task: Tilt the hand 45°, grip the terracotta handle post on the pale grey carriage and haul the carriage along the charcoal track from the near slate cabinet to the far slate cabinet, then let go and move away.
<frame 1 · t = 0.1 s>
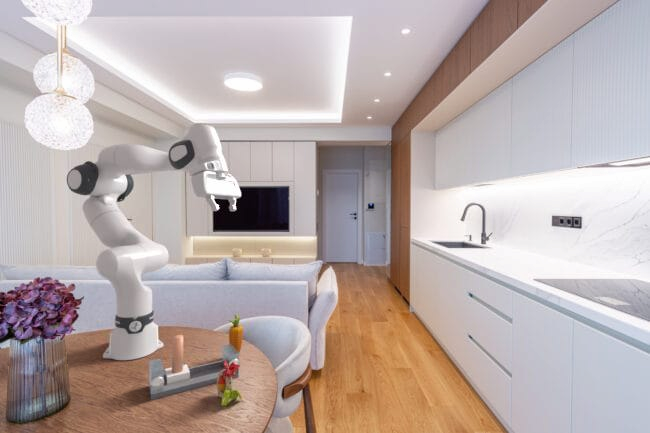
hand: (225, 210, 103), 52 cm above the table, tool tilted 20°, fingers open, 8 cm apart
rail track: (195, 381, 96), on the table
carrot: (235, 358, 111), on the table
decorative toy figure: (225, 401, 87), on the table
carriage: (177, 358, 93), point 8 cm above the table, slide at 0.0 cm
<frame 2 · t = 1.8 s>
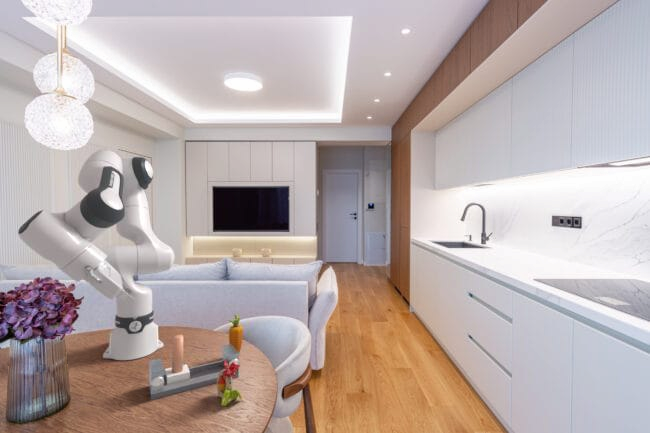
hand: (131, 297, 86), 28 cm above the table, tool tilted 45°, fingers open, 8 cm apart
nothing on the table moved.
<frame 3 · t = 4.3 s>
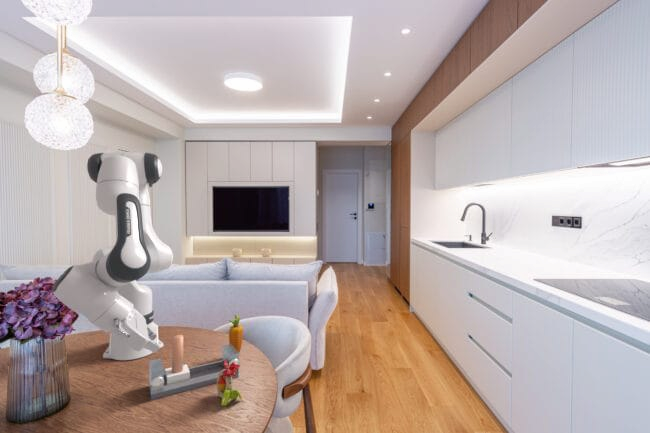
hand: (156, 343, 90), 14 cm above the table, tool tilted 45°, fingers open, 8 cm apart
nothing on the table moved.
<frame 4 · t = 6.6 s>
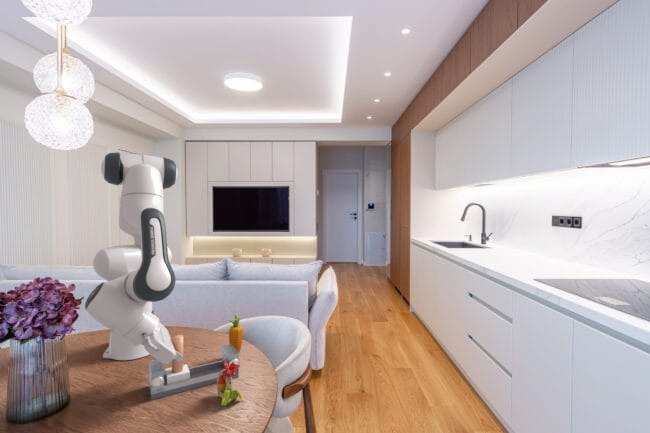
hand: (179, 355, 93), 9 cm above the table, tool tilted 45°, fingers closed on carriage, 3 cm apart
carriage: (177, 358, 93), point 8 cm above the table, slide at 0.0 cm, touching gripper
everything else where it was.
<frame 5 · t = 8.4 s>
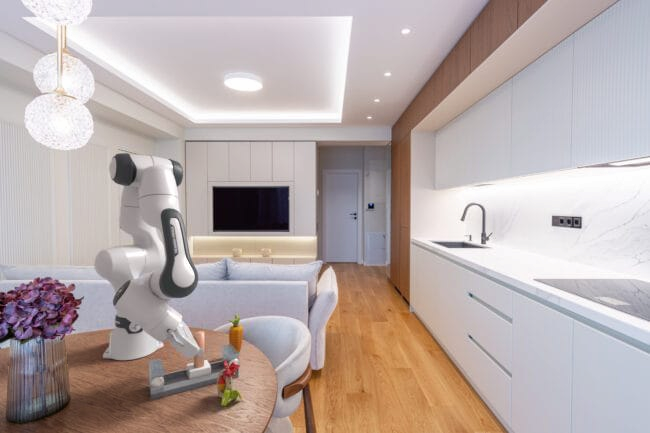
hand: (201, 351, 96), 9 cm above the table, tool tilted 45°, fingers closed on carriage, 3 cm apart
carriage: (198, 353, 96), point 8 cm above the table, slide at 6.0 cm, touching gripper
everything else where it was.
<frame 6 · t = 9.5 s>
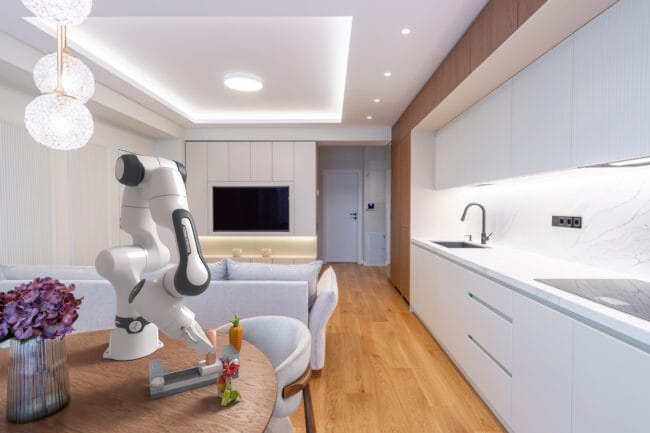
hand: (213, 348, 98), 9 cm above the table, tool tilted 45°, fingers closed on carriage, 3 cm apart
carriage: (210, 351, 98), point 8 cm above the table, slide at 9.5 cm, touching gripper
everything else where it was.
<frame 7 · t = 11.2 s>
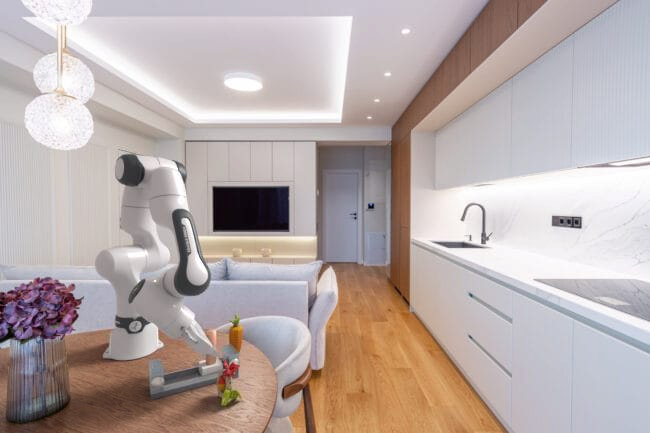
hand: (213, 348, 98), 9 cm above the table, tool tilted 45°, fingers open, 8 cm apart
carriage: (211, 351, 98), point 8 cm above the table, slide at 9.5 cm
everything else where it was.
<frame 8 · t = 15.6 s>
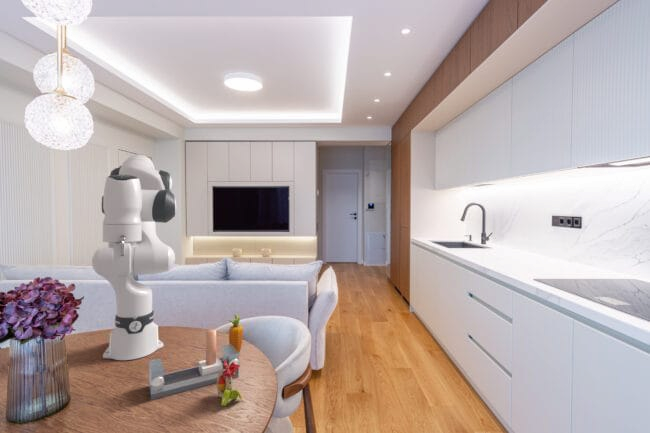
hand: (122, 285, 85), 31 cm above the table, tool pointing down, fingers open, 8 cm apart
nothing on the table moved.
at the end: carriage slide at 9.5 cm; the gripper is holding nothing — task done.
